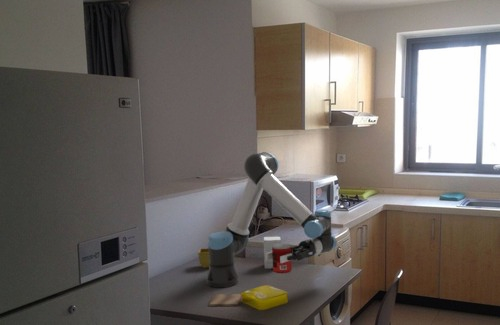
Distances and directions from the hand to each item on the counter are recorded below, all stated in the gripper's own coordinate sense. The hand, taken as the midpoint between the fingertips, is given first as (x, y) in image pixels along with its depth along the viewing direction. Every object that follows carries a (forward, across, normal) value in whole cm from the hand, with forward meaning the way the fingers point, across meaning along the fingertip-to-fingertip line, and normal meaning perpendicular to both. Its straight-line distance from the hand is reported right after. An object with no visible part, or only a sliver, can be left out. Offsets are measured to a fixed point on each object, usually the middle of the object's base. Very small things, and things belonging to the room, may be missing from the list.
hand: (273, 258), depth 200 cm
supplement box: (-36, +38, -18) cm, 56 cm away
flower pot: (-13, +64, -18) cm, 68 cm away
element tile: (+4, +3, -19) cm, 19 cm away
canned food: (-5, 0, -7) cm, 8 cm away
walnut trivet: (+14, +16, -18) cm, 28 cm away
